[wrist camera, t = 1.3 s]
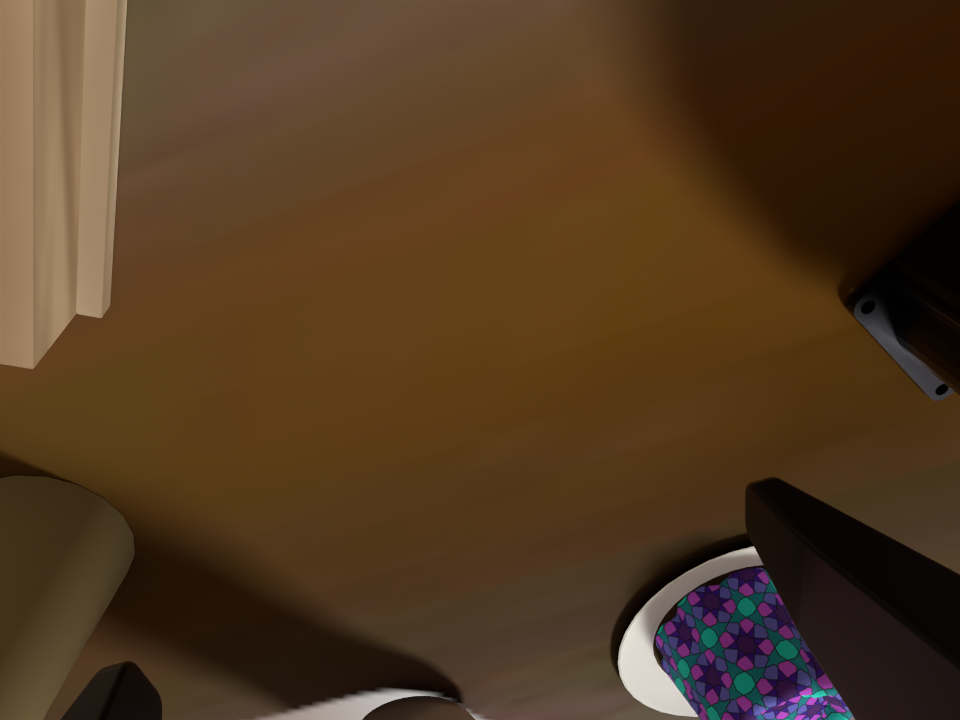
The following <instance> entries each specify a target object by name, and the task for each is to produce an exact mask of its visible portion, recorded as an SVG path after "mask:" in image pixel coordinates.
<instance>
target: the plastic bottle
mask: <svg viewBox="0 0 960 720" xmlns="http://www.w3.org/2000/svg"><path fill="white" fill-rule="evenodd" d="M363 720H475V719H474V718H473V717H472V716H471V715H470V714H469V712H468V711H467V710H466V709H465V708H463V707H462V706H460V705H459V704H457V703H455V702H453V701H450V700H448V699H444V698H440V697H431V696H414V697H407V698H402V699H398V700H394V701H391V702H388V703H386V704H383V705H381V706H379V707H378V708H376V709H374V710H372V711H371V712H370V713H369V714H367V715H366V716H365V717H364V719H363Z"/></svg>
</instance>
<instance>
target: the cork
mask: <svg viewBox="0 0 960 720" xmlns="http://www.w3.org/2000/svg"><path fill="white" fill-rule="evenodd" d="M134 555H135V548H134V536H133V533H132V531H131V530H130V528H129V526H128V524H127V522H126V521H125V519H124V517H123V515H122V514H120V513H119V512H118V511H117V510H116V509H115V508H114V507H113V506H112V505H111V504H109V503H108V502H107V501H106V500H105V499H104V498H102V497H100V496H98V495H96V494H94V493H93V492H91V491H89V490H87V489H85V488H83V487H81V486H79V485H77V484H73V483H69V482H65V481H61V480H58V479H54V478H50V477H42V476H18V475H15V476H9V477H4V478H0V720H43V718H44V716H45V714H46V713H47V711H48V709H49V707H50V706H51V704H52V702H53V701H54V699H55V697H56V695H57V694H58V692H59V690H60V688H61V687H62V685H63V683H64V681H65V680H66V678H67V676H68V675H69V673H70V671H71V669H72V668H73V666H74V664H75V662H76V661H77V659H78V657H79V656H80V654H81V652H82V650H83V649H84V647H85V645H86V643H87V642H88V640H89V638H90V636H91V635H92V633H93V631H94V630H95V628H96V626H97V624H98V623H99V621H100V619H101V617H102V616H103V614H104V612H105V610H106V609H107V607H108V605H109V604H110V602H111V600H112V598H113V597H114V595H115V593H116V591H117V590H118V588H119V586H120V585H121V583H122V581H123V579H124V578H125V576H126V574H127V572H128V570H129V568H130V565H131V563H132V560H133V558H134Z"/></svg>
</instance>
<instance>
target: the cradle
mask: <svg viewBox="0 0 960 720" xmlns="http://www.w3.org/2000/svg"><path fill="white" fill-rule="evenodd" d="M126 11H127V0H0V364H5V365H11V366H17V367H23V368H30V369H34V367H35V366H36V365H37V363H38V362H39V361H40V360H41V358H42V357H43V356H44V354H45V353H46V352H47V351H48V349H49V348H50V347H51V345H52V344H53V343H54V342H55V340H56V339H57V338H58V336H59V335H60V334H61V333H62V331H63V330H64V329H65V327H66V326H67V325H68V323H69V322H70V321H71V320H72V318H73V317H74V316H75V314H81V315H86V316H92V317H97V318H102V317H103V315H104V314H105V312H106V311H107V309H108V308H109V306H110V297H111V279H112V261H113V244H114V226H115V208H116V190H117V172H118V154H119V136H120V119H121V101H122V83H123V65H124V47H125V29H126Z"/></svg>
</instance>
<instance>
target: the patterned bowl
mask: <svg viewBox="0 0 960 720" xmlns="http://www.w3.org/2000/svg"><path fill="white" fill-rule="evenodd" d="M759 565H763V563H762V561H761V559H760V557H759V555H758V553H757V552H756V550H755V548H754V546H753V547H749V548H745V549H741V550H737V551H733V552H730V553H727V554H725V555H722V556H719V557H717V558H714V559H711V560H709V561H707V562H705V563H703V564H701V565H699V566H697V567H695V568H693V569H691V570H689V571H687V572H685V573H684V574H682V575H681V576H679V577H678V578H677V579H675V580H674V581H672V582H671V583H669V584H668V585H666V586H665V587H664V588H663V589H661V590H660V591H659V592H658V593H657V594H656V595H655V596H653V597H652V598H651V599H650V600H649V601H648V602H647V603H646V604H645V605H644V607H643V608H642V609H641V610H640V611H639V612H638V613H637V615H636V616H635V617H634V619H633V620H632V622H631V624H630V625H629V627H628V629H627V630H626V632H625V634H624V637H623V640H622V643H621V645H620V648H619V657H618V667H619V673H620V677H621V679H622V681H623V683H624V685H625V687H626V689H627V690H628V691H629V692H630V693H631V694H632V695H633V697H634V698H636V699H637V700H639V701H640V702H642V703H643V704H645V705H646V706H648V707H651V708H653V709H655V710H658V711H660V712H665V713H669V714H674V715H680V716H693V717H699V718H700V719H701V720H850V719H851V718H852V717H853V715H852V714H851V712H850V710H849V709H848V707H847V706H846V704H845V703H844V701H843V700H842V698H841V697H840V695H839V694H838V692H837V691H836V689H835V688H834V686H833V685H832V683H831V682H830V680H829V679H828V677H827V676H826V674H825V673H824V671H823V670H822V668H821V666H820V665H819V663H818V662H817V660H816V659H815V657H814V656H813V654H812V653H811V651H810V650H809V648H808V647H807V645H806V644H805V642H804V640H803V639H802V637H801V635H800V634H799V632H798V630H797V629H796V627H795V625H794V623H793V621H792V619H791V618H790V616H789V614H788V612H787V610H786V608H785V606H784V604H783V602H782V600H781V598H780V596H779V594H778V592H777V590H776V588H775V587H774V585H773V583H772V581H771V579H770V577H769V575H768V573H767V571H766V570H765V569H763V568H747V569H744V570H741V571H738V572H735V573H732V574H730V575H729V576H728V577H727V578H726V579H725V580H724V581H723V582H721V583H720V584H719V585H713V586H703V587H700V588H698V589H697V590H695V591H693V592H691V593H689V592H690V591H692V590H693V589H695V588H696V587H698V586H699V585H701V584H703V583H705V582H707V581H709V580H711V579H713V578H715V577H717V576H720V575H722V574H725V573H728V572H730V571H734V570H738V569H742V568H746V567H752V566H759ZM687 593H689V594H688V595H687V596H686V597H685V598H684V599H683V600H682V601H681V602H680V603H679V604H678V605H677V614H676V617H674V618H673V619H671V620H670V621H668V622H666V623H665V624H663V625H662V626H661V627H660V629H659V631H658V633H657V634H656V646H657V648H658V649H659V650H660V652H661V653H662V655H663V658H662V661H661V665H662V667H663V669H664V671H665V672H666V673H667V674H666V673H665V672H664V671H663V670H662V669H661V668H660V667H659V665H658V664H657V662H656V659H655V657H654V651H653V642H654V636H655V633H656V631H657V628H658V626H659V624H660V623H661V621H662V619H663V618H664V616H665V615H666V613H667V612H668V611H669V610H670V609H671V608H672V607H673V606H674V605H675V603H677V602H678V601H679V600H680V599H681V598H682V597H684V596H685V595H686V594H687Z"/></svg>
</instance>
